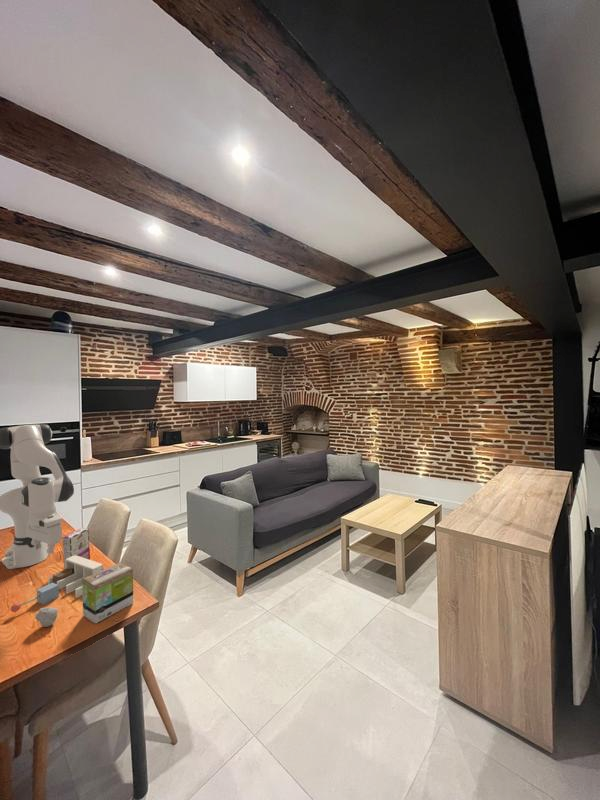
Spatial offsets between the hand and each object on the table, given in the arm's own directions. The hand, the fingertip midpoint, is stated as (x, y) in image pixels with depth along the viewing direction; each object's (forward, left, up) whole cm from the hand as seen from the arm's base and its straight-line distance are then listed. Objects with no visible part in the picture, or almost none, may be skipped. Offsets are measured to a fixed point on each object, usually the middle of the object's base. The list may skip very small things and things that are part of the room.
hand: (43, 550), depth 142 cm
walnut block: (-7, +10, -21) cm, 24 cm away
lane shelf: (0, +12, -21) cm, 24 cm away
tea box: (+31, +7, -21) cm, 38 cm away
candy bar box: (-18, +23, -21) cm, 36 cm away
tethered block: (0, -4, -21) cm, 21 cm away
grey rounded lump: (+19, -9, -21) cm, 29 cm away
